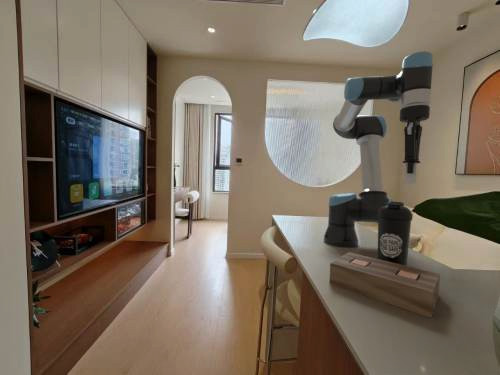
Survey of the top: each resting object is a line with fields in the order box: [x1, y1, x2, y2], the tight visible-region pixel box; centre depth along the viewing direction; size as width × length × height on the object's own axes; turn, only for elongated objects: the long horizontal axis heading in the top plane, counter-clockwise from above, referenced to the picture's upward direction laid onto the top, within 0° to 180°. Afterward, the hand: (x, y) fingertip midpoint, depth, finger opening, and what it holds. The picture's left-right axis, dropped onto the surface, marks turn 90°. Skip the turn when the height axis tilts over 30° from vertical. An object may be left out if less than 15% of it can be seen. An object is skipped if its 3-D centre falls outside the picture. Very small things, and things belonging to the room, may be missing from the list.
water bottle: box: [377, 201, 414, 266], centre depth 80 cm, size 10×10×23 cm
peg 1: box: [351, 259, 369, 267], centre depth 70 cm, size 4×4×6 cm
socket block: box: [329, 251, 441, 319], centre depth 66 cm, size 14×24×6 cm, turn 46°
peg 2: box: [397, 270, 418, 281], centre depth 62 cm, size 4×4×6 cm
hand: (410, 184), depth 74 cm, fingers closed
